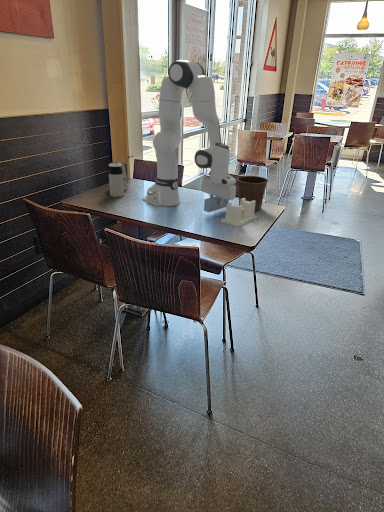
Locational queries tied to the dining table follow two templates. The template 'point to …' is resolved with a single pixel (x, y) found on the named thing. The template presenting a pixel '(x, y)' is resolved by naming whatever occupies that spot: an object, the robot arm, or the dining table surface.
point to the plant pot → (252, 189)
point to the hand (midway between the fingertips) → (216, 204)
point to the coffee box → (124, 174)
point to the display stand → (240, 213)
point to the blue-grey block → (214, 204)
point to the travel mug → (116, 180)
